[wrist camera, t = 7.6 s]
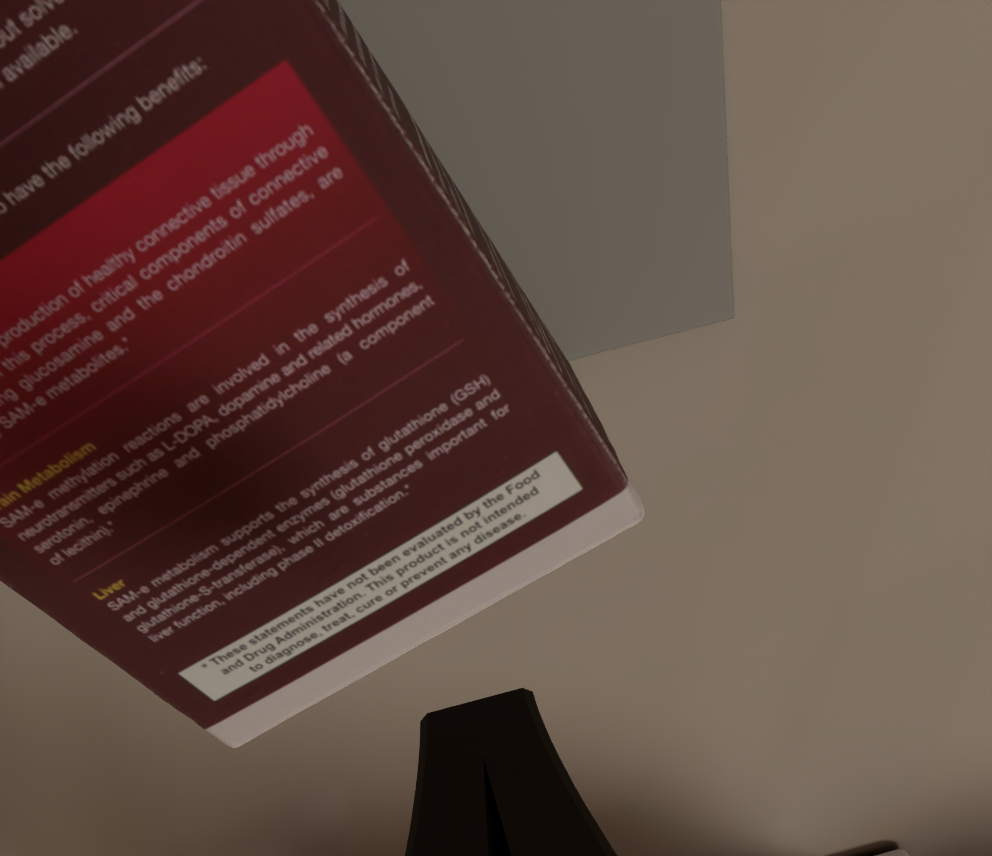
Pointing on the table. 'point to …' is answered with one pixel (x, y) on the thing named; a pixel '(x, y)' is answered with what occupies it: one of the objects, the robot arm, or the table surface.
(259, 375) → the supplement box
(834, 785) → the table surface
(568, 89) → the mat
